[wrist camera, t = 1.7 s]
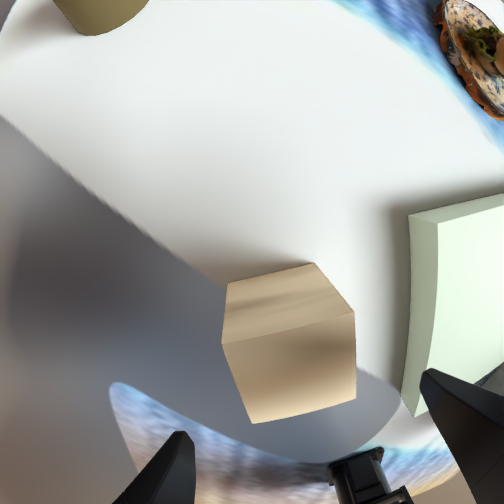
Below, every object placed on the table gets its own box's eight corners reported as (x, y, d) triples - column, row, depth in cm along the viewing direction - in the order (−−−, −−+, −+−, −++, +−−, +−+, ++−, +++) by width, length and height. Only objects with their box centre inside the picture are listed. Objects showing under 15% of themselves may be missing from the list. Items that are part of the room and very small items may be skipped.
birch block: (324, 334, 16) (356, 398, 11) (248, 352, 17) (252, 424, 11) (314, 262, 15) (354, 311, 9) (227, 282, 15) (221, 344, 9)
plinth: (507, 333, 18) (523, 345, 16) (400, 395, 19) (413, 417, 16) (524, 188, 14) (546, 192, 11) (407, 214, 15) (437, 223, 12)
